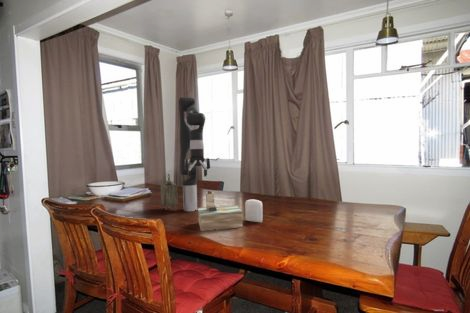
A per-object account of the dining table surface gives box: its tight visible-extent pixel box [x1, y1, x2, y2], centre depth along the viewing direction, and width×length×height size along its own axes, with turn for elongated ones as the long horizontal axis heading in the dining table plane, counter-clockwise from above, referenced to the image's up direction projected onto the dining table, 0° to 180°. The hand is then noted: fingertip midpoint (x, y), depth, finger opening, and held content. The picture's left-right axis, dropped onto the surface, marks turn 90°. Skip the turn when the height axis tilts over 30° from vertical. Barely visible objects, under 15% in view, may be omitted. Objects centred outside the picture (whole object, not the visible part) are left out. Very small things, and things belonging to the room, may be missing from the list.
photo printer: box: [244, 198, 264, 223], centre depth 161 cm, size 10×4×12 cm, turn 60°
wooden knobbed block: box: [205, 190, 215, 211], centre depth 154 cm, size 4×4×10 cm
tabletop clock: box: [160, 173, 179, 212], centre depth 192 cm, size 14×9×25 cm, turn 22°
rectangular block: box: [197, 204, 244, 232], centre depth 155 cm, size 16×23×10 cm
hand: (197, 177), depth 160 cm, fingers open, 8 cm apart
